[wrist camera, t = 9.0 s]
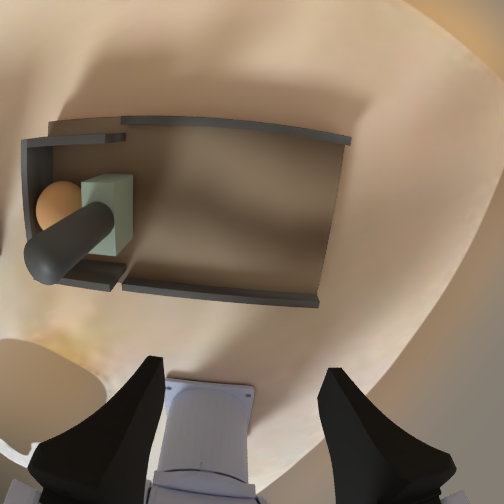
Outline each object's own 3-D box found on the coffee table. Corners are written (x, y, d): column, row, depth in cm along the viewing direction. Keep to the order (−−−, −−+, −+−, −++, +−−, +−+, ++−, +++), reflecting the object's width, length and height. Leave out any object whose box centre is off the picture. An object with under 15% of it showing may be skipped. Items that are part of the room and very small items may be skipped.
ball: (54, 226, 18) (97, 228, 18) (29, 244, 15) (76, 248, 15) (51, 176, 17) (96, 176, 17) (23, 187, 13) (72, 187, 14)
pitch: (312, 293, 22) (325, 325, 18) (62, 268, 20) (36, 292, 17) (340, 136, 18) (364, 138, 14) (56, 121, 16) (22, 123, 12)
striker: (133, 237, 18) (70, 310, 10) (105, 235, 18) (33, 302, 10) (133, 174, 17) (56, 211, 9) (103, 173, 17) (17, 209, 9)
